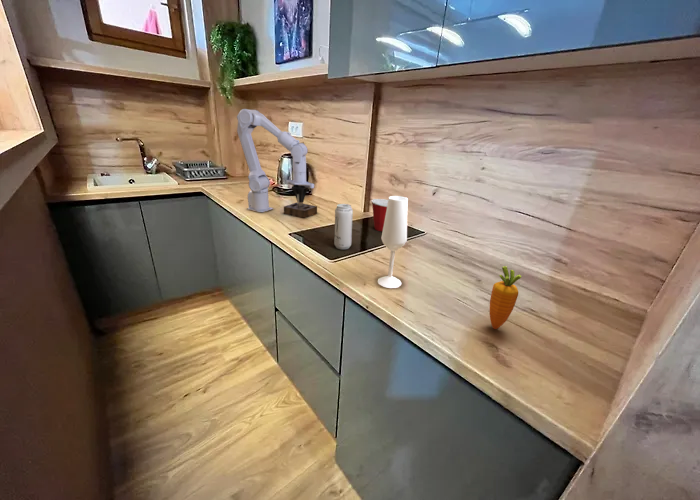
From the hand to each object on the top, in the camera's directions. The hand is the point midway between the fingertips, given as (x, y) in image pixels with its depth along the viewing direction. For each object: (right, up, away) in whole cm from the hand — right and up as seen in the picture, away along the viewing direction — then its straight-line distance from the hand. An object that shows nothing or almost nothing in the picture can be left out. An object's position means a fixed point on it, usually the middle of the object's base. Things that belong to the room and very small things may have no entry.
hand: (300, 201), depth 141 cm
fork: (0, -5, +2) cm, 5 cm away
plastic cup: (+37, -14, -14) cm, 41 cm away
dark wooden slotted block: (0, -5, +2) cm, 6 cm away
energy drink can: (+21, -22, -33) cm, 44 cm away
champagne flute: (+34, -32, -56) cm, 73 cm away
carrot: (+55, -40, -73) cm, 100 cm away
